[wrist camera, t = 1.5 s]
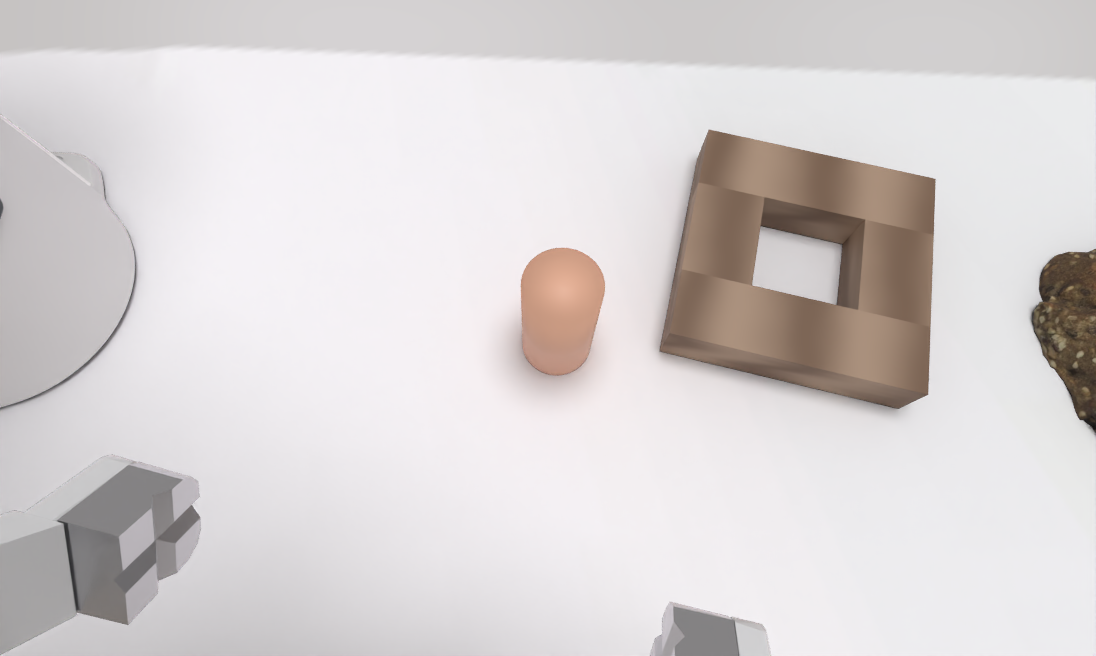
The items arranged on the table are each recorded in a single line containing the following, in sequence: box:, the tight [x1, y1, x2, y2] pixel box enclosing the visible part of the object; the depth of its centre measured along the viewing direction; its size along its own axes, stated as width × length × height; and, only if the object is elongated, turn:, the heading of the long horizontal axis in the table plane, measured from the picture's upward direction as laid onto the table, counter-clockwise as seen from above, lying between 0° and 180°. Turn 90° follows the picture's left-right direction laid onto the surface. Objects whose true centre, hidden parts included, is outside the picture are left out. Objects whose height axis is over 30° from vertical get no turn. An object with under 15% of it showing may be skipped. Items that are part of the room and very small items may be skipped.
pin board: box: [660, 130, 935, 409], centre depth 39 cm, size 14×14×3 cm
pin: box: [521, 248, 605, 375], centre depth 35 cm, size 4×4×8 cm
